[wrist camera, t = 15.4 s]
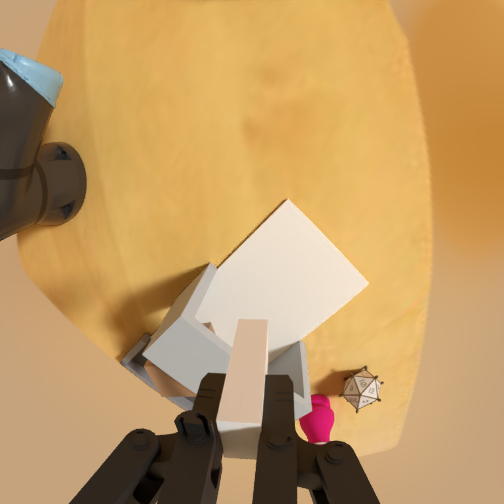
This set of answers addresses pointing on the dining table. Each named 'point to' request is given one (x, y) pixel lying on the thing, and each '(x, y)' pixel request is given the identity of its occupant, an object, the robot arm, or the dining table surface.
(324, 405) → the pepper mill
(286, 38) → the dining table surface
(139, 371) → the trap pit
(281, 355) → the tunnel
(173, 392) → the walnut block
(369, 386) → the game die
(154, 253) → the dining table surface
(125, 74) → the dining table surface
